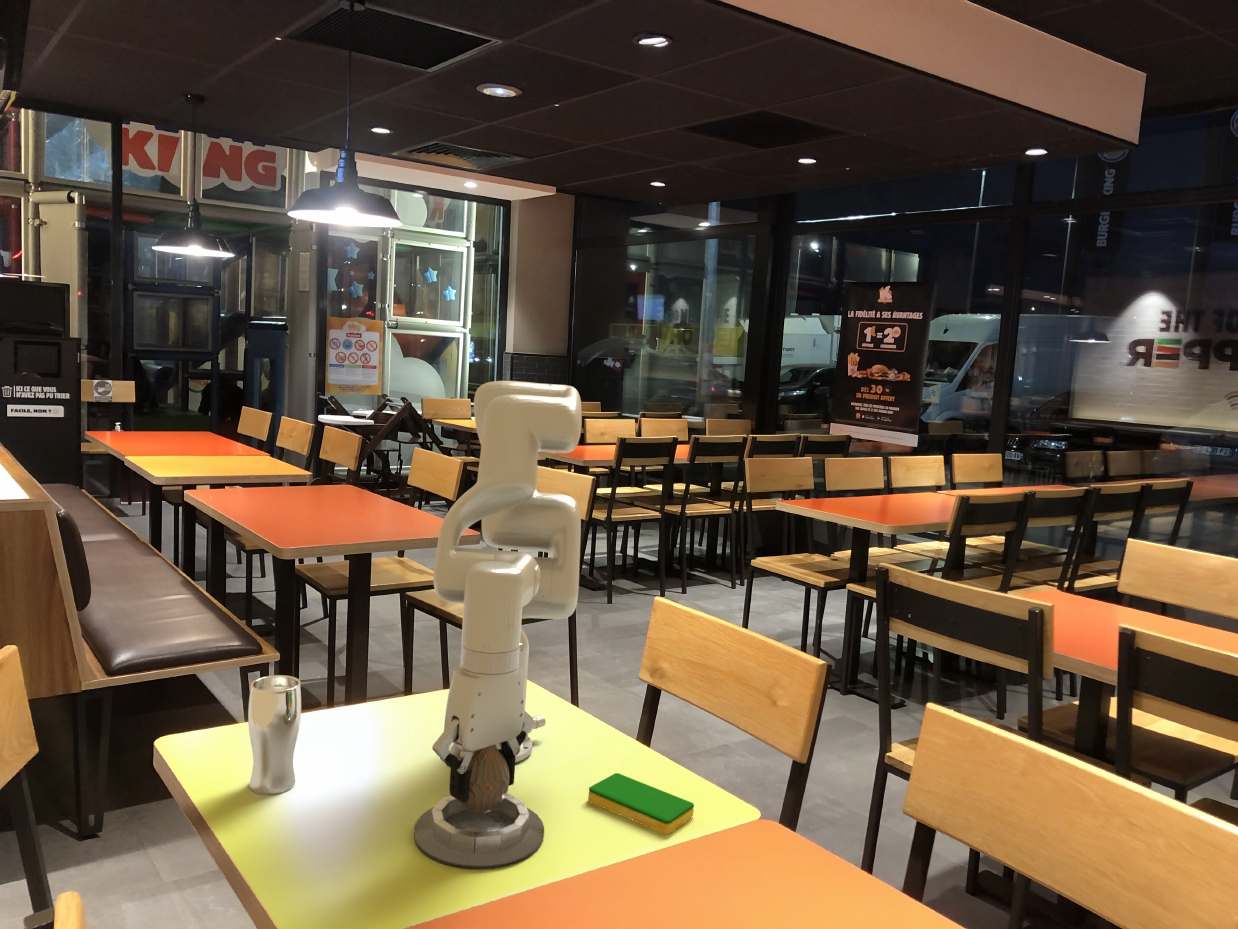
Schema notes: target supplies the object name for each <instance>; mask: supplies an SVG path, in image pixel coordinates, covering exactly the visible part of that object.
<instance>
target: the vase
mask: <svg viewBox="0 0 1238 929" xmlns="http://www.w3.org/2000/svg"><path fill="white" fill-rule="evenodd" d="M466 771H468V772H470V786H469V800H468V801H467V802H465V803H463V802H462V804H463V805H464V806H465V807H466V808H467V809H469V810H470V811H473V812H478V813H485V812H490V811H492V810H494V809H495V808H497V807H498V806H499V805H500V804H501V803H502V802H503V800H504V798H505V796H506V794H507V793H508V791H509V787H510V786H509V769H508V765H507V763H506V760H505V759H504V757H503V756H502V754H501V753H500V752H499V750H498V749H497V747H496V745H492V746H489V747H486V748H483V749H480V750H477V751H474V753H473V755H472V758H471V760H470V763H469V765H468V767H467V770H466Z"/></svg>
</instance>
